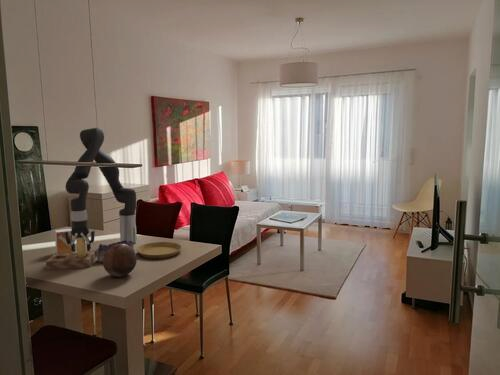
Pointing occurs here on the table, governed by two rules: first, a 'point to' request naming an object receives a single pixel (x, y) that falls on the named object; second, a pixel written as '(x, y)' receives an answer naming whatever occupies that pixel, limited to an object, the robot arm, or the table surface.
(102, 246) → the geode
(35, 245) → the table surface
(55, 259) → the hole block
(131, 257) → the wooden sphere
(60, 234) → the small box
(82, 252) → the peg
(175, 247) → the plant saucer
